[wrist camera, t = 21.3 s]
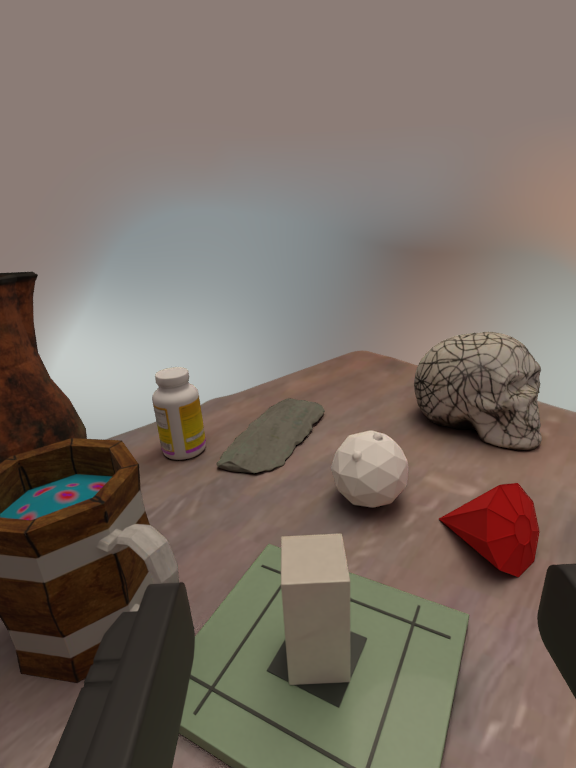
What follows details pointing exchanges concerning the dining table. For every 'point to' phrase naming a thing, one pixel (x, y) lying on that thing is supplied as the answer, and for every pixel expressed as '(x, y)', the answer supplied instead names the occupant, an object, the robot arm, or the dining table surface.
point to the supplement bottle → (178, 414)
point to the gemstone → (499, 527)
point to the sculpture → (482, 388)
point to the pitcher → (28, 378)
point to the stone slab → (271, 437)
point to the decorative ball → (370, 469)
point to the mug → (73, 552)
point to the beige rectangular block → (316, 608)
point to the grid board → (328, 700)
